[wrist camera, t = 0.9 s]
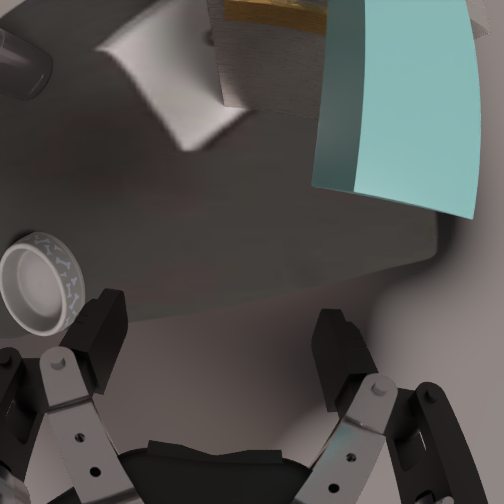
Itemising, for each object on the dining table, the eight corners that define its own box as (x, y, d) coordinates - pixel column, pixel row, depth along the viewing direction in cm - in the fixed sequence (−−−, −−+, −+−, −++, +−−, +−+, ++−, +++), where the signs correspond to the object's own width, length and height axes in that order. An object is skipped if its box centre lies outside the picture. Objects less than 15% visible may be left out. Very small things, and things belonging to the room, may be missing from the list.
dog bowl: (-1, 261, 41) (-18, 269, 35) (55, 213, 40) (36, 218, 34) (41, 337, 45) (28, 350, 40) (103, 305, 44) (90, 319, 38)
